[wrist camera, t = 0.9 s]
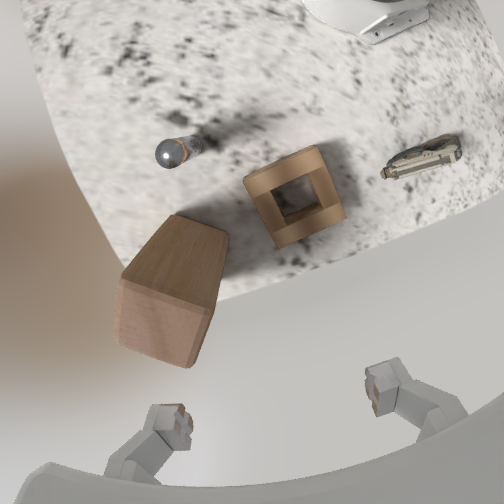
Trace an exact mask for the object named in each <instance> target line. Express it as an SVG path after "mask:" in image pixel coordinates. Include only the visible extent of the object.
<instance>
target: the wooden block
mask: <svg viewBox="0 0 504 504" xmlns="http://www.w3.org/2000/svg"><path fill="white" fill-rule="evenodd" d="M228 244H229V234H228V233H226V232H225V231H222V230H219V229H216V228H213V227H210V226H207V225H204V224H202V223H199V222H196V221H193V220H190V219H187V218H184V217H181V216H178V215H170V216H169V217H168V219H167V220H166V221H165V222H164V223H163V224H162V225H161V227H160V228H159V229H158V230H157V231H156V232H155V234H154V235H153V236H152V237H151V238H150V240H149V241H148V242H147V243H146V244H145V245H144V247H143V248H142V249H141V250H140V252H139V253H138V254H137V255H136V256H135V258H134V259H133V260H132V261H131V263H130V264H129V265H128V266H127V268H126V269H125V270H124V271H123V273H122V274H121V275H120V277H119V280H118V288H117V297H116V309H115V322H114V340H115V342H116V343H117V344H119V345H121V346H123V347H126V348H128V349H131V350H133V351H136V352H139V353H141V354H144V355H147V356H150V357H152V358H155V359H158V360H161V361H164V362H167V363H170V364H173V365H176V366H179V367H182V368H191V367H192V366H193V365H194V364H195V362H196V360H197V357H198V354H199V352H200V349H201V346H202V344H203V341H204V338H205V335H206V333H207V330H208V328H209V325H210V322H211V319H212V317H213V314H214V311H215V306H216V301H217V296H218V291H219V287H220V282H221V277H222V272H223V268H224V263H225V258H226V253H227V249H228Z"/></svg>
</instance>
